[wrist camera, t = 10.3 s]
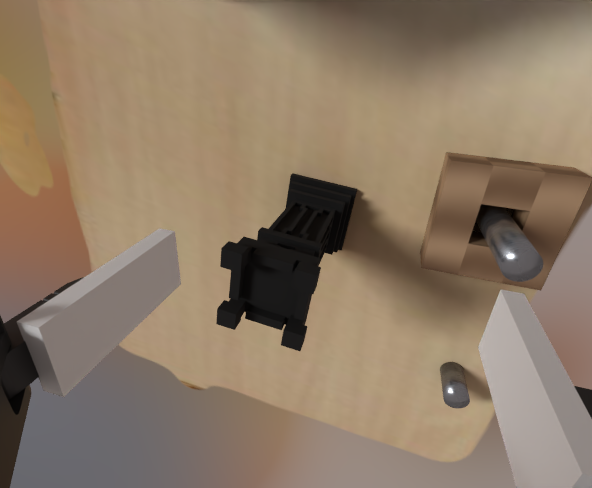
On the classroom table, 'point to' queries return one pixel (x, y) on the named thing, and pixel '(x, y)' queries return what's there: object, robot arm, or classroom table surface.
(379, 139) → the classroom table surface
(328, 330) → the classroom table surface
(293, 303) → the chess piece
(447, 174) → the hole block
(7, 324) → the robot arm
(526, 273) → the long pin
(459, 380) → the short pin
